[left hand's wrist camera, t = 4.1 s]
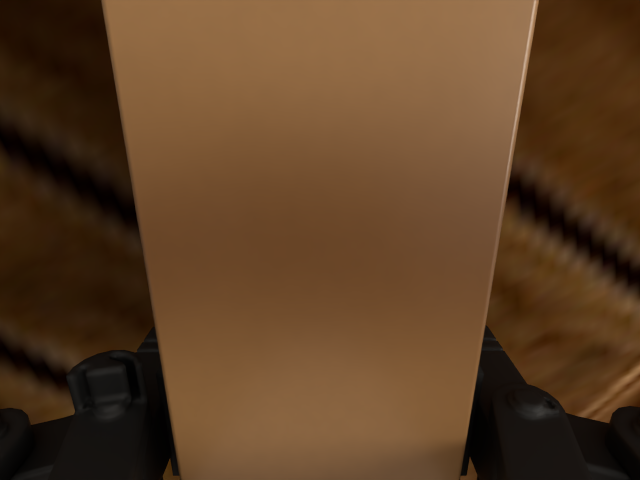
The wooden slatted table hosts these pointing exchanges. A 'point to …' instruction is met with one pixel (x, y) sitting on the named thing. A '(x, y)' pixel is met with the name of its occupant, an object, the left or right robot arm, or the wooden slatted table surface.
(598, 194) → the wooden slatted table surface
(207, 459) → the bar
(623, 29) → the wooden slatted table surface
